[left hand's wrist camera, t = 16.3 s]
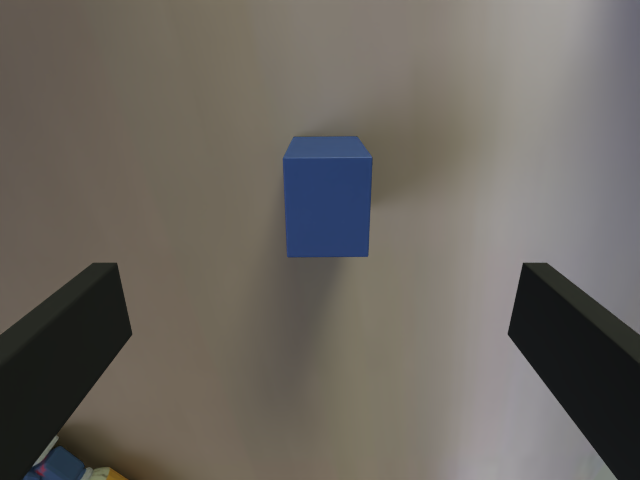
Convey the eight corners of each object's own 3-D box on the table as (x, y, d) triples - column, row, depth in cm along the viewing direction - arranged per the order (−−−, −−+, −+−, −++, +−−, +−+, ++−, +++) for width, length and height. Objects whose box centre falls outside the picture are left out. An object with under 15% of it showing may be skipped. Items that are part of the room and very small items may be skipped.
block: (295, 211, 30) (287, 257, 22) (293, 136, 28) (282, 157, 20) (355, 211, 30) (368, 257, 22) (357, 136, 28) (372, 156, 20)
